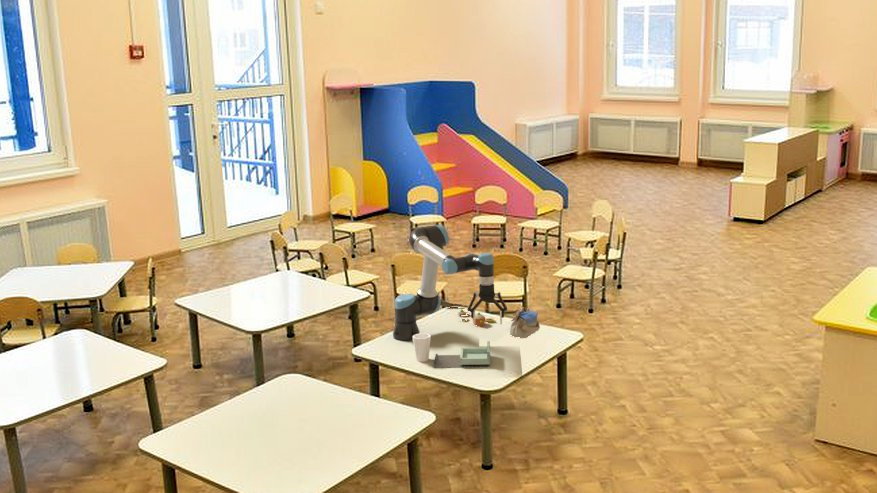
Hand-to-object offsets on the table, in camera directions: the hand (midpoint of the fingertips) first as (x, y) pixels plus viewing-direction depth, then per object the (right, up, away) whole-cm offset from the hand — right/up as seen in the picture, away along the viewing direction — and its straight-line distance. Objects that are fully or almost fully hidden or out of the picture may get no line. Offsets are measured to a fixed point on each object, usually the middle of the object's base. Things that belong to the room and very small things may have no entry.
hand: (487, 323), depth 443 cm
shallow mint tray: (-6, -20, +7) cm, 22 cm away
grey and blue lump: (+25, -10, +52) cm, 58 cm away
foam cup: (-34, -20, +12) cm, 41 cm away
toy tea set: (-4, -7, +71) cm, 72 cm away
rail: (-12, -20, +8) cm, 25 cm away
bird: (-15, -2, +95) cm, 96 cm away
